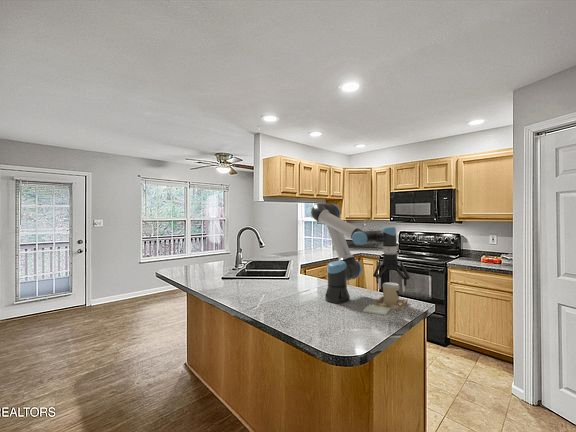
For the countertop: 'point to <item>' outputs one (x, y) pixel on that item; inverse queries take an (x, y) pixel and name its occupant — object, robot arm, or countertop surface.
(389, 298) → the coffee cup
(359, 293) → the countertop surface
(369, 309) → the sage tile
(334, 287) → the robot arm
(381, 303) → the oak frame
